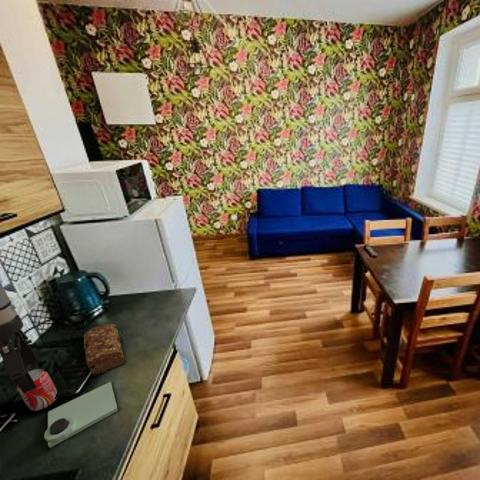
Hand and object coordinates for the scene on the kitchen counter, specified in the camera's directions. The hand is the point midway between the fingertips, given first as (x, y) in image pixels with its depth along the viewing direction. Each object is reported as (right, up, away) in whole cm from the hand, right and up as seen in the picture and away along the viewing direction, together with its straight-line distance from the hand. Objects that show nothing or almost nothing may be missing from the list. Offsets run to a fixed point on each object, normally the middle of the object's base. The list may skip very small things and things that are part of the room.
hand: (31, 375), depth 83 cm
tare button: (+14, -13, -5) cm, 20 cm away
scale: (+15, -13, +2) cm, 20 cm away
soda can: (0, -11, +5) cm, 12 cm away
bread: (+6, -4, +23) cm, 24 cm away
